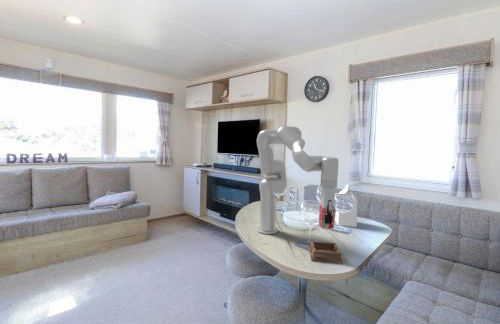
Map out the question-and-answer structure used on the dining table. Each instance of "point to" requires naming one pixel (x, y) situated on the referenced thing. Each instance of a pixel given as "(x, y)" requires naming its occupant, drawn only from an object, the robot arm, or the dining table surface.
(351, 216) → the milk
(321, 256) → the brown wooden tray
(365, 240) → the dining table surface
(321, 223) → the soda can
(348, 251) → the dining table surface
